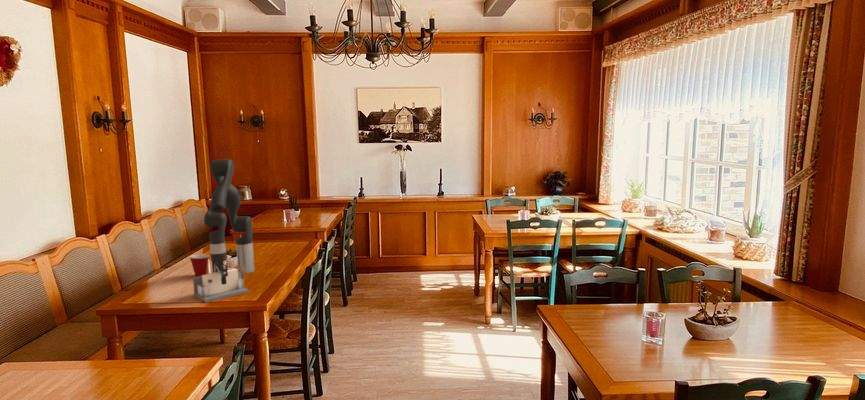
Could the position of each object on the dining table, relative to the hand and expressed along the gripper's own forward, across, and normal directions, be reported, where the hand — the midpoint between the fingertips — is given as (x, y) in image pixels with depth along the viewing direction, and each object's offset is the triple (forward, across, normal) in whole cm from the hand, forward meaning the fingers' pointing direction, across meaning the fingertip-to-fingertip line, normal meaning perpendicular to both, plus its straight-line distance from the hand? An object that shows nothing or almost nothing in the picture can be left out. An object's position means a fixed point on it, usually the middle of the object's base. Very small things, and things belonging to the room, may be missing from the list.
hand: (220, 282), depth 268 cm
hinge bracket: (+6, 0, 0) cm, 6 cm away
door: (+5, 0, 0) cm, 5 cm away
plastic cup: (+6, +45, -5) cm, 46 cm away
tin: (+6, +17, -12) cm, 22 cm away
